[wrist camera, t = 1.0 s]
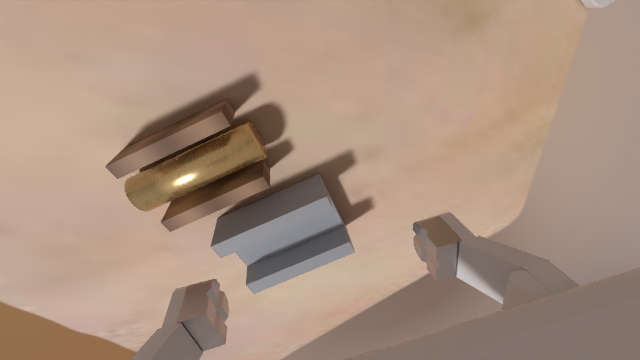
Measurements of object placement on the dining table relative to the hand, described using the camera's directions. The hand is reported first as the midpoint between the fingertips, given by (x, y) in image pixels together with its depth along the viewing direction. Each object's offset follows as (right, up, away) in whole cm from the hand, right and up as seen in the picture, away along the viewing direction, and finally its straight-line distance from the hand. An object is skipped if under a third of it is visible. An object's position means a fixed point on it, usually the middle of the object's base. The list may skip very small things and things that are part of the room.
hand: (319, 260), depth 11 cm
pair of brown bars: (-13, +6, +20) cm, 24 cm away
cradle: (-5, -2, +26) cm, 27 cm away
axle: (-13, +5, +18) cm, 23 cm away
